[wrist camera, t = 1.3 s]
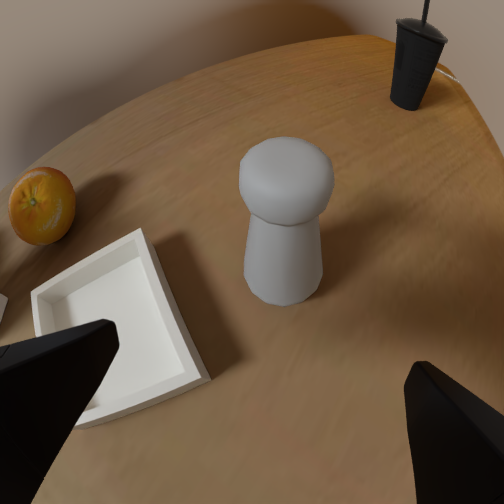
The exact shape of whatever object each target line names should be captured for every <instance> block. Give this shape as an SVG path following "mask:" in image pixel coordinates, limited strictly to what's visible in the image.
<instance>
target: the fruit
mask: <svg viewBox="0 0 504 504" xmlns="http://www.w3.org/2000/svg"><path fill="white" fill-rule="evenodd" d="M75 209H76V196H75V192H74V189H73V186H72V184H71V182H70V180H69V179H68V178H67V176H66V175H65V174H64V173H62V172H61V171H59V170H56V169H54V168H50V167H38V168H35V169H32V170H30V171H28V172H27V173H26V174H25V175H24V176H23V177H22V178H21V179H20V180H19V181H18V182H17V183H16V185H15V186H14V188H13V190H12V192H11V195H10V199H9V205H8V211H9V218H10V221H11V224H12V227H13V229H14V231H15V232H16V234H17V235H18V236H19V237H20V238H21V239H22V240H23V241H25V242H27V243H29V244H32V245H49V244H51V243H53V242H56V241H57V240H59V239H61V238H62V237H63V236H64V235H65V234H66V233H67V231H68V230H69V228H70V226H71V224H72V222H73V219H74V216H75Z"/></svg>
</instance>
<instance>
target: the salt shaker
mask: <svg viewBox="0 0 504 504" xmlns="http://www.w3.org/2000/svg"><path fill="white" fill-rule="evenodd" d="M333 188H334V172H333V167H332V163H331V160H330V159H329V157H328V156H327V155H326V154H325V153H324V152H323V151H322V150H321V149H320V148H319V147H317V146H315V145H313V144H311V143H309V142H307V141H305V140H303V139H300V138H293V137H277V138H271V139H267V140H265V141H263V142H261V143H260V144H258V145H256V146H254V147H252V148H251V149H250V150H249V151H248V152H247V154H246V155H245V156H244V157H243V159H242V160H241V162H240V174H239V189H240V193H241V196H242V198H243V200H244V202H245V203H246V205H247V207H248V209H249V210H250V212H251V218H250V224H249V231H248V238H247V244H246V251H245V258H244V277H245V279H246V281H247V283H248V285H249V287H250V289H251V291H252V293H253V294H255V295H256V296H257V297H259V298H260V299H261V300H263V301H264V302H266V303H268V304H273V305H278V306H283V307H286V306H290V305H294V304H298V303H301V302H303V301H304V300H305V299H306V298H308V297H309V296H310V295H311V294H313V293H314V292H315V291H316V290H317V288H318V285H319V283H320V280H321V278H322V275H323V267H322V254H321V240H320V227H319V216H318V215H319V214H321V213H322V212H323V211H324V210H325V209H326V207H327V204H328V202H329V199H330V197H331V194H332V191H333Z"/></svg>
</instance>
